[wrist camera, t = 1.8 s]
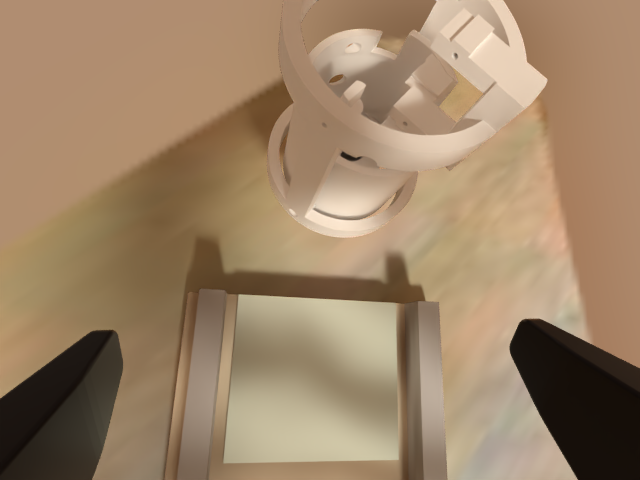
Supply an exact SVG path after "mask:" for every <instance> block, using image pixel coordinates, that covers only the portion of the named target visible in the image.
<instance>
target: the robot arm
mask: <svg viewBox="0 0 640 480" xmlns="http://www.w3.org/2000/svg"><path fill="white" fill-rule="evenodd" d="M510 354H511V356H512V358H513V360H514V363H515V365H516V367H517V369H518V371H519V373H520V375H521V377H522V379H523V381H524V383H525V386H526V388H527V390H528V392H529V394H530V396H531V398H532V400H533V402H534V404H535V406H536V408H537V410H538V412H539V414H540V416H541V418H542V420H543V421H544V423H545V425H546V427H547V428H548V430H549V432H550V433H551V435H552V437H553V438H554V440H555V442H556V443H557V445H558V447H559V449H560V450H561V452H562V454H563V455H564V457H565V459H566V460H567V462H568V464H569V465H570V467H571V469H572V471H573V472H574V474H575V476H576V477H577V479H578V480H640V368H638V367H636V366H633V365H632V364H630V363H628V362H626V361H624V360H622V359H619V358H617V357H616V356H614V355H612V354H610V353H608V352H606V351H604V350H602V349H600V348H598V347H596V346H594V345H592V344H590V343H588V342H586V341H584V340H582V339H580V338H578V337H576V336H574V335H572V334H570V333H568V332H566V331H564V330H562V329H560V328H558V327H556V326H554V325H552V324H550V323H548V322H546V321H544V320H541V319H524V320H522V321H521V322H520V323H519V325H518V327H517V329H516V332H515V334H514V336H513V338H512V341H511V343H510ZM122 370H123V359H122V353H121V348H120V343H119V338H118V335H117V333H116V331H114V330H96V331H92V332H90V333H88V334H87V335H86V336H84V337H83V338H82V339H80V340H79V341H77V342H76V343H75V344H73V345H72V346H71V347H69V348H68V349H67V350H65V351H64V352H63V353H61V354H60V355H59V356H57V357H56V358H54V359H53V360H52V361H50V362H49V363H48V364H46V365H45V366H44V367H42V368H41V369H40V370H38V371H37V372H36V373H34V374H33V375H31V376H30V377H29V378H27V379H26V380H25V381H23V382H22V383H21V384H19V385H18V386H17V387H15V388H14V389H13V390H11V391H10V392H8V393H7V394H6V395H4V396H3V397H2V398H0V480H92V478H93V476H94V473H95V470H96V467H97V465H98V462H99V459H100V456H101V453H102V450H103V447H104V443H105V439H106V436H107V432H108V428H109V423H110V419H111V415H112V411H113V407H114V403H115V399H116V395H117V391H118V387H119V383H120V379H121V375H122Z"/></svg>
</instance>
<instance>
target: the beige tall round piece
mask: <svg viewBox="0 0 640 480" xmlns="http://www.w3.org/2000/svg"><path fill="white" fill-rule="evenodd" d="M317 1H318V0H284V1H283V7H282V17H281V27H280V37H279V62H280V68H281V73H282V76H283V80H284V83H285V85H286V88H287V90H288V92H289V94H290V96H291V98H292V100H293V102H294V103H292V104H291V105H290V106H289V107H288V108H287V109H286V110H285V111H284V112H283V113H282V114H281V115H280V117H279V118H278V120H277V121H276V123H275V125H274V127H273V129H272V132H271V135H270V139H269V145H268V155H267V172H268V178H269V182H270V185H271V188H272V190H273V192H274V195H275V196H276V198H277V200H278V201H279V203H280V204H281V206H282V207H283V208H284V209H285V211H286V212H287V213H288V214H289V215H290V216H291V217H292V218H294V219H295V220H296V221H297V222H299V223H300V224H302V225H303V226H305V227H307V228H309V229H311V230H313V231H315V232H318V233H320V234H324V235H328V236H333V237H357V236H362V235H365V234H368V233H371V232H373V231H375V230H377V229H379V228H381V227H382V226H384V225H385V224H386V223H388V222H389V221H390V220H391V219H392V218H394V217H395V216H396V215H397V214H398V213H399V212H400V211H401V210H402V209H403V208H404V207H405V206H406V204H407V203H408V201H409V200H410V198H411V196H412V194H413V191H414V189H415V186H416V182H417V175H418V171H427V170H433V169H438V168H442V167H446V168H447V169H448V170H449V171H450V170H451V169H453V168H454V167H455V166H457V165H458V164H459V163H460V162H461V161H463V160H464V159H465V158H466V157H467V156H469V155H470V154H471V153H472V152H474V151H475V150H476V149H477V148H479V147H480V146H481V145H482V144H483V143H485V142H486V141H487V140H488V139H489V138H491V137H492V136H493V135H494V134H496V133H497V132H498V131H499V130H500V129H501V128H503V127H504V126H505V125H506V124H507V123H509V122H510V121H511V120H512V119H513V118H515V117H516V116H517V115H518V114H520V113H521V112H522V111H523V110H524V109H526V108H527V107H528V106H529V105H530V104H531V103H532V102H533V101H534V100H535V98H536V97H537V96H538V95H539V93H540V92H541V91H542V89H543V88H544V87H545V85H546V82H547V79H546V78H545V77H544V76H543V75H541V74H540V73H539V72H538V71H537V70H536V69H535V68H533V67H532V66H531V65H530V64H529V63H528V62H527V59H526V52H525V47H524V43H523V39H522V36H521V33H520V31H519V28H518V26H517V24H516V22H515V19H514V17H513V15H512V14H511V12H510V10H509V9H508V7H507V6H506V4H505V3H504V1H503V0H436V1H437V2H436V4H435V6H434V8H433V9H432V11H431V13H430V15H429V16H428V18H427V20H426V22H425V24H424V25H423V27H422V29H421V31H420V32H417V31H415V30H413V31H411V32H410V33H409V35H408V37H407V38H406V40H405V42H404V44H403V46H402V48H401V50H400V52H399V54H398V55H396V54H394V53H392V52H390V51H387V50H385V49H382V48H378V47H377V44H378V42H379V40H380V37H381V35H382V33H383V31H379V30H372V29H352V30H346V31H343V32H339V33H336V34H334V35H331V36H330V37H328V38H326V39H324V40H323V41H321V42H320V43H319V44H318V45H316V46H315V47H314V48H313V49H312V51H311V52H310V53H309V54H308V53H307V50H306V48H305V44H304V41H303V36H302V31H301V23H302V21H303V19H304V17H305V15H306V14H307V12H308V11H309V9H310V8H311V7H312V6H313V5H314V4H315V2H317ZM352 43H353V44H352ZM350 44H352V45H350ZM348 45H350V46H349V47H347V46H348ZM451 66H452V67H453V68H454V69H456V70H457V71H458V72H459V73H460V74H461V75H462V76H464V77H465V78H466V79H467V80H468V81H469V82H471V83H472V84H473V85H474V86H475V87H476V88H477V89H479V90H480V91H481V92H482V93H483V95H482V96H481V97H480V98H479V99H478V100H477V101H476V102H475V103H474V104H473V105H472V107H471V108H470V109H469V110H468V111H467V112H466V113H465V114H464V115H463V116H462V117H461V118H460V119H459V120H458V121H457V122H455V121H454V120H453V119H452V118H451V117H450V116H448V115H447V114H446V113H445V112H444V111H443V110H442V109H440V108H439V105H440V104H441V103H442V102H443V100H444V99H445V98H446V97H447V96H448V94H449V93H450V92H451V91H452V90H453V88H454V87H455V86H456V85H457V83H458V81H457V78H456V75H455V73H454V71H453V69H452V67H451ZM336 75H343V78H342V79H340V80H339V81H337V82H333V83H329V81H330V80H331V78H333V77H334V76H336ZM287 133H288V137H287V142H286V147H285V152H284V158H283V170H284V175H283V172H282V169H281V165H280V159H279V149H280V146H281V144H282V141H283V139H284V138H285V136H286V135H287ZM379 167H382V168H386V169H379ZM284 176H285V178H284ZM285 179H286V180H285ZM395 193H396V195H395V197H394V199H393V201H392V203H391V204H390V206H389V207H388V208H387V209H386V210H385V211H383V212H381V213H380V214H378V215H375V216H373V217H370V218H367V219H363V218H366V217H368V216H370V215H372V214H373V213H375V212H376V211H377V210H378V209H380V208H381V207H382V206H383V205H384V204H385V203H386V202H387V201H388V200H389V199H390V198H391V197H392V196H393V195H394V194H395ZM360 219H362V220H360Z"/></svg>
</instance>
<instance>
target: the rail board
mask: <svg viewBox="0 0 640 480" xmlns="http://www.w3.org/2000/svg"><path fill="white" fill-rule="evenodd" d="M164 480H447V462H446V441H445V420H444V399H443V378H442V357H441V336H440V315H439V302H428V301H415V302H410V303H406V304H400V303H388V302H370V301H352V300H333V299H315V298H297V297H279V296H260V295H242V294H239V295H235V294H227V293H226V291H225V290H215V289H199V293H198V292H188V297H187V305H186V313H185V320H184V328H183V336H182V344H181V352H180V360H179V368H178V376H177V384H176V391H175V399H174V407H173V415H172V423H171V431H170V439H169V447H168V454H167V462H166V470H165V478H164Z"/></svg>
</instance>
